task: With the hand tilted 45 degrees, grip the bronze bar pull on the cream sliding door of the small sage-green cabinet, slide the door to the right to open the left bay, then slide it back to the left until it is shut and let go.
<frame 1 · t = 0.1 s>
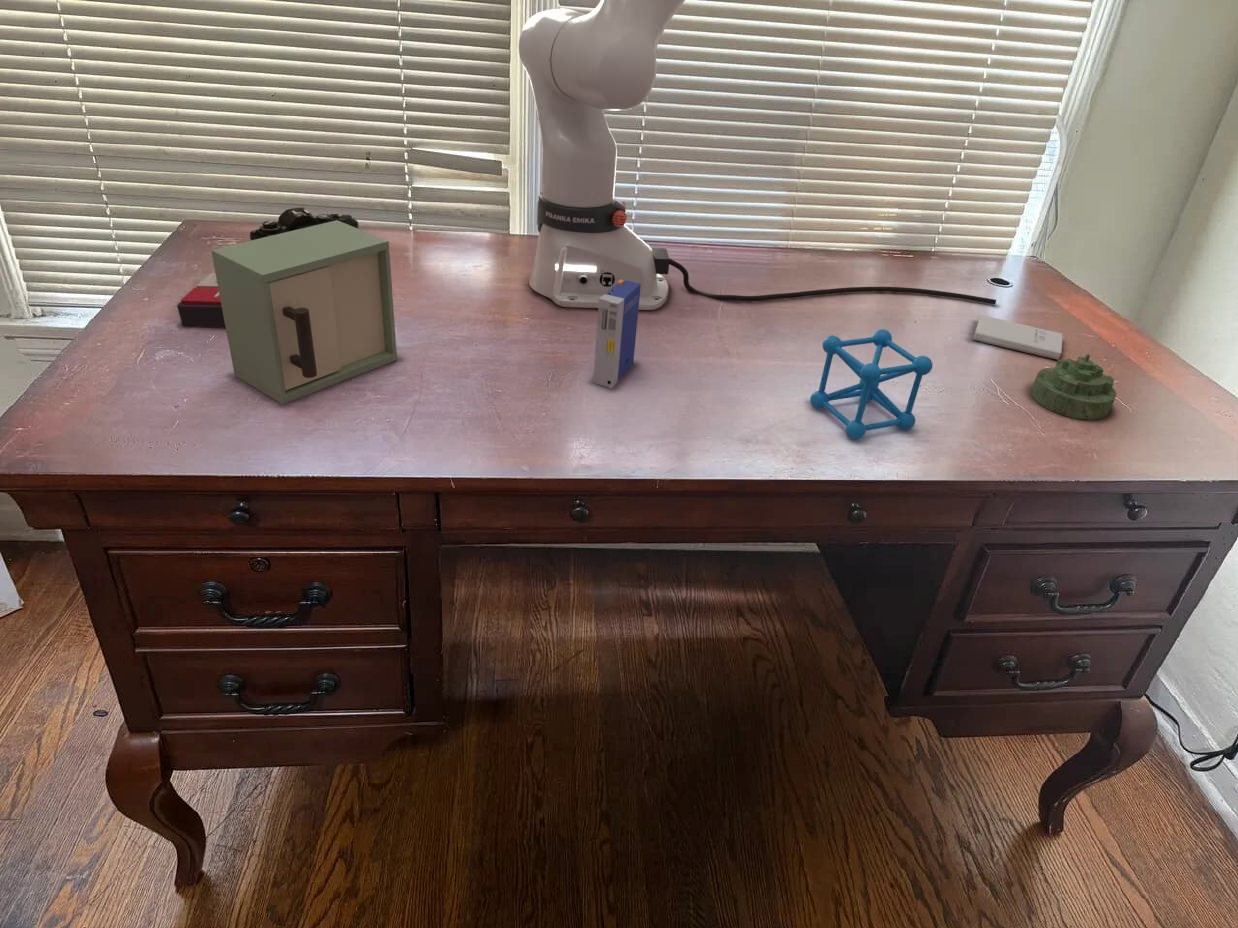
decorative artifact: (1068, 402, 118), on the table
film camera: (304, 270, 136), on the table
molecular structure: (859, 419, 110), on the table
cabinet: (318, 367, 110), on the table
door: (315, 333, 100), point 8 cm above the table, slide at 0.0 cm
hard drive: (1015, 342, 134), on the table
red and black box: (251, 315, 121), on the table
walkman: (613, 375, 115), on the table
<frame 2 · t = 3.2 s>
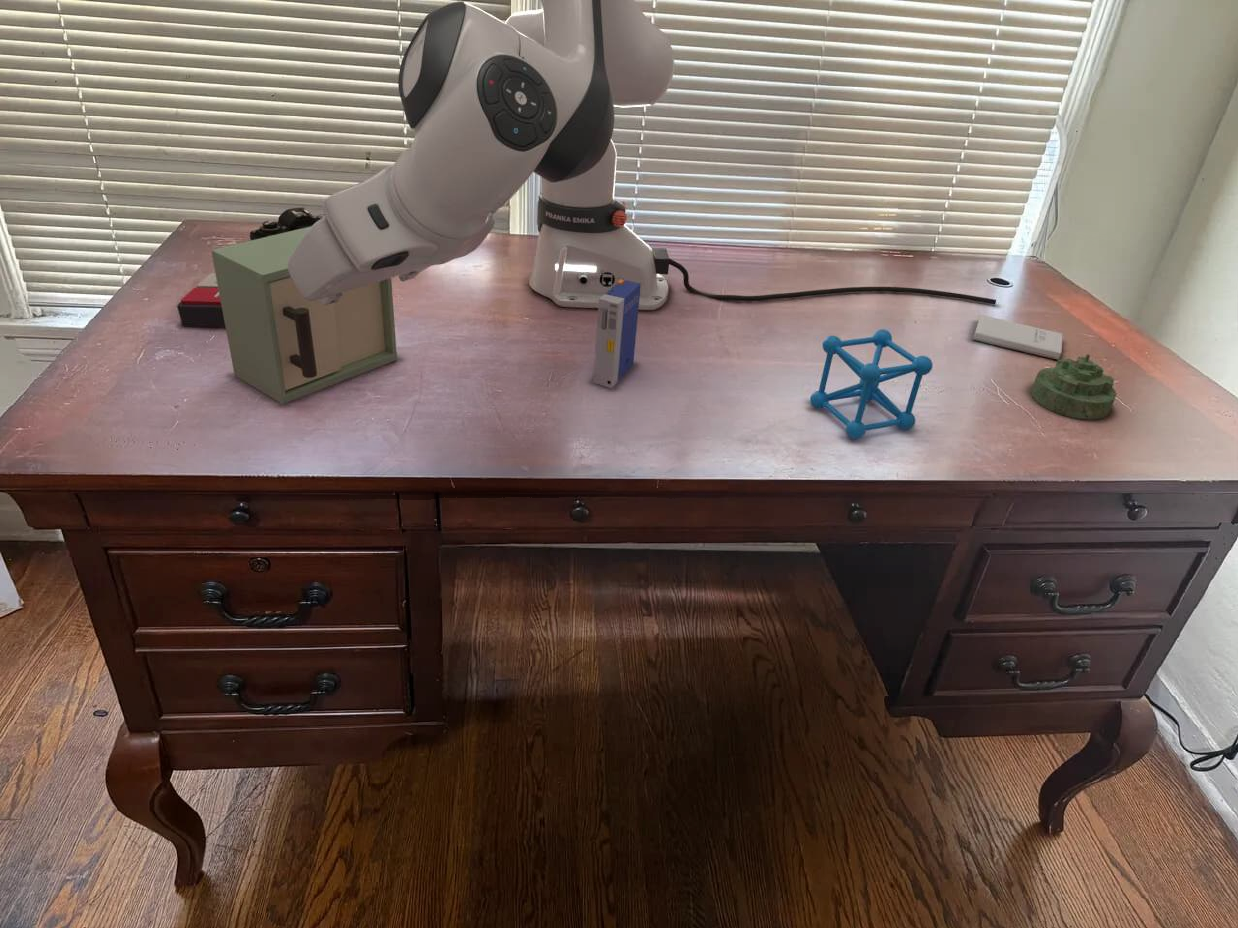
hand: (365, 285, 86), 19 cm above the table, tool tilted 45°, fingers open, 8 cm apart
nothing on the table moved.
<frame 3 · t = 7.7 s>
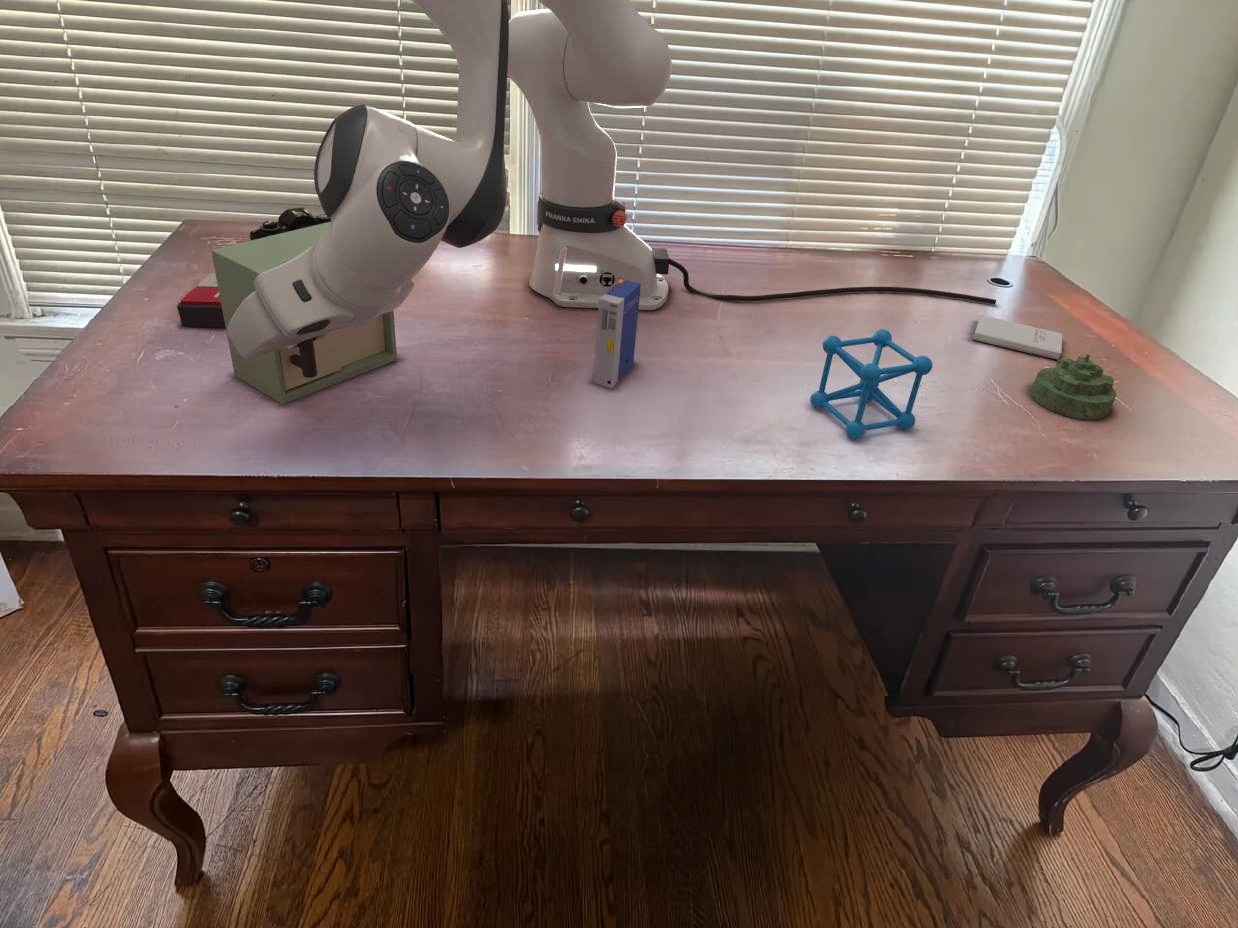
hand: (301, 338, 98), 8 cm above the table, tool tilted 45°, fingers closed on door, 2 cm apart
door: (316, 333, 100), point 8 cm above the table, slide at 0.0 cm, touching gripper
everything else where it was.
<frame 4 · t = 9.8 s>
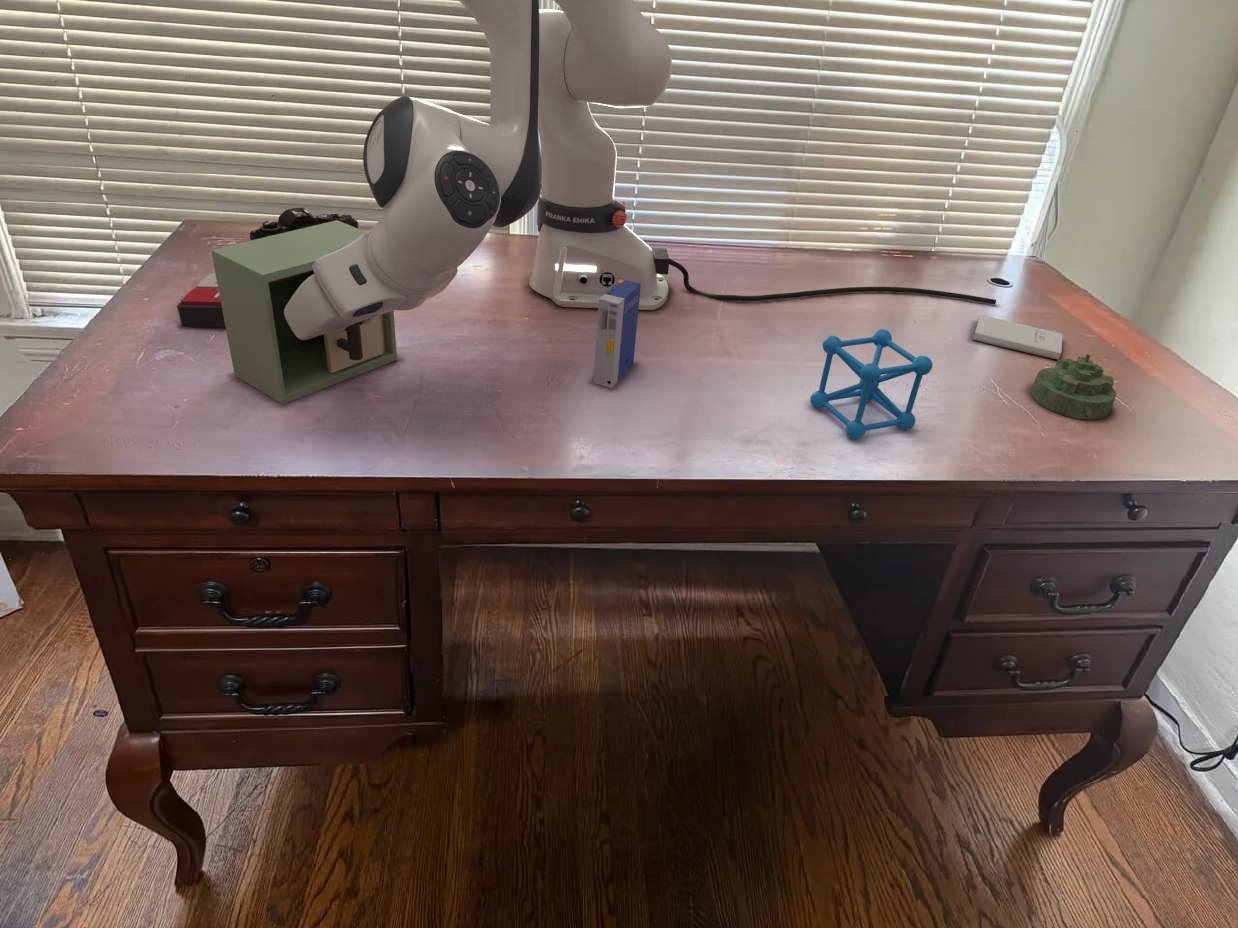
hand: (349, 322, 102), 8 cm above the table, tool tilted 45°, fingers closed on door, 2 cm apart
door: (361, 318, 104), point 8 cm above the table, slide at 6.5 cm, touching gripper
everything else where it was.
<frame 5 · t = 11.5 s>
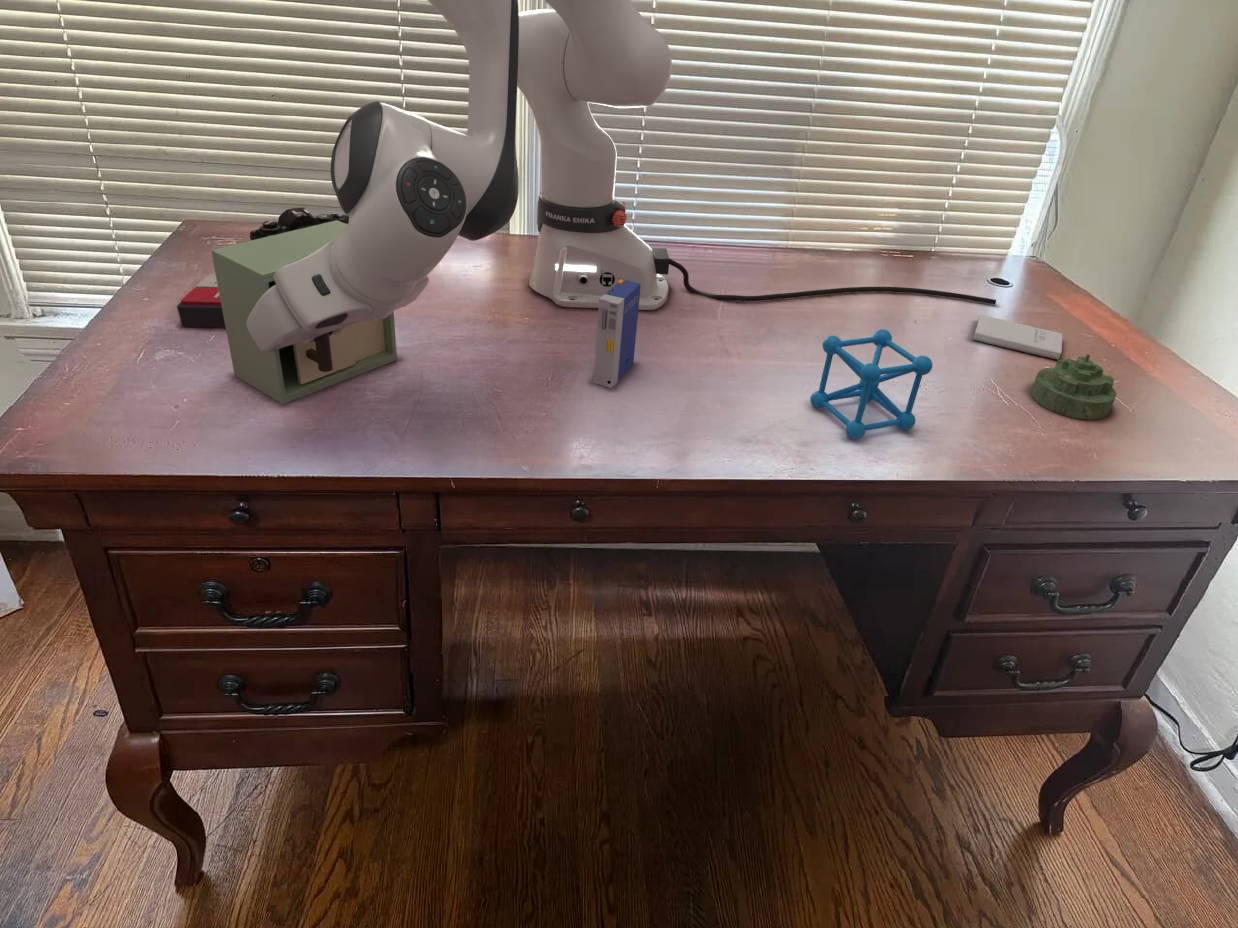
hand: (317, 333, 99), 8 cm above the table, tool tilted 45°, fingers closed on door, 2 cm apart
door: (331, 328, 101), point 8 cm above the table, slide at 2.2 cm, touching gripper
everything else where it was.
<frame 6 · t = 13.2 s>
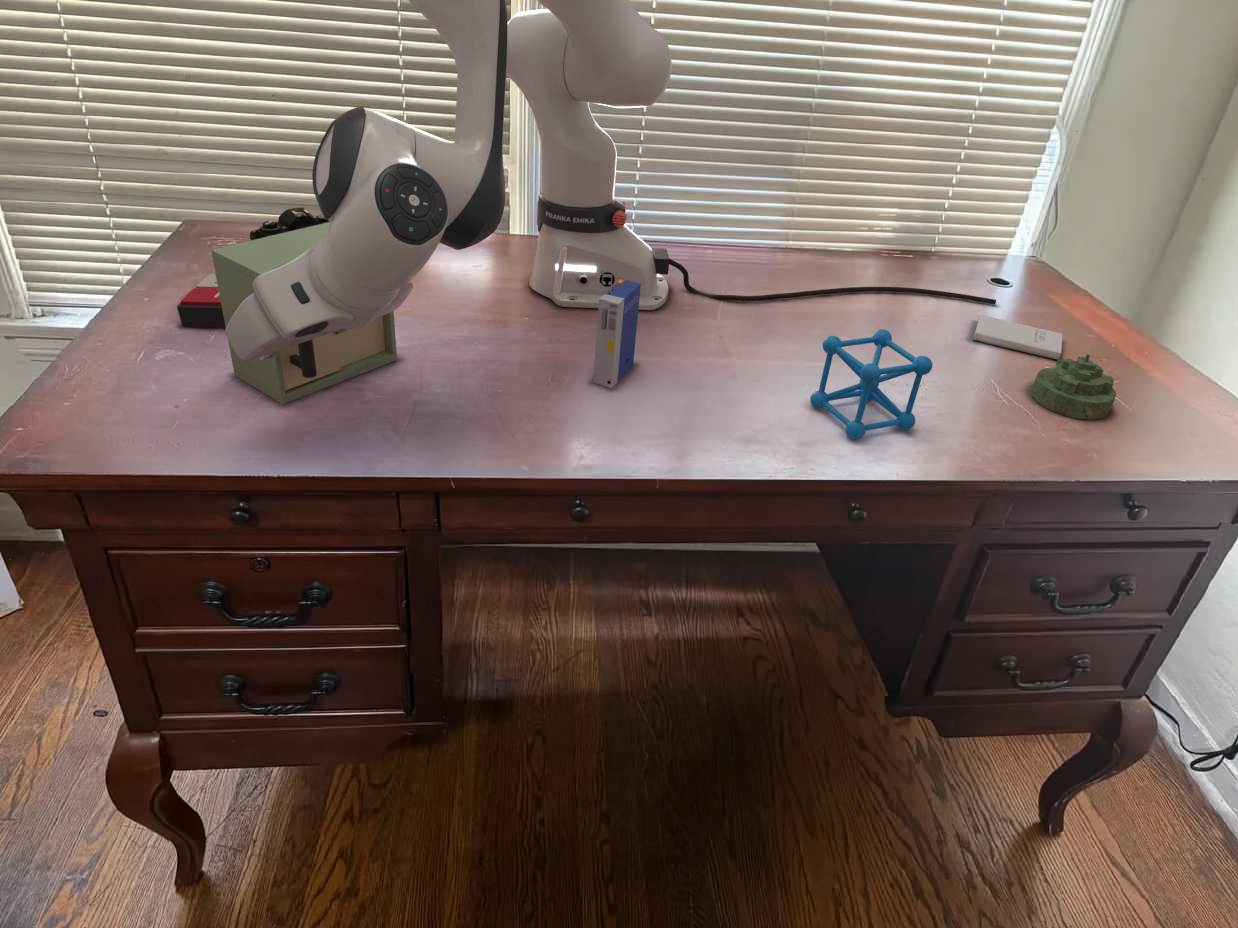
hand: (300, 340, 98), 8 cm above the table, tool tilted 45°, fingers open, 8 cm apart
door: (315, 333, 100), point 8 cm above the table, slide at 0.0 cm
everything else where it was.
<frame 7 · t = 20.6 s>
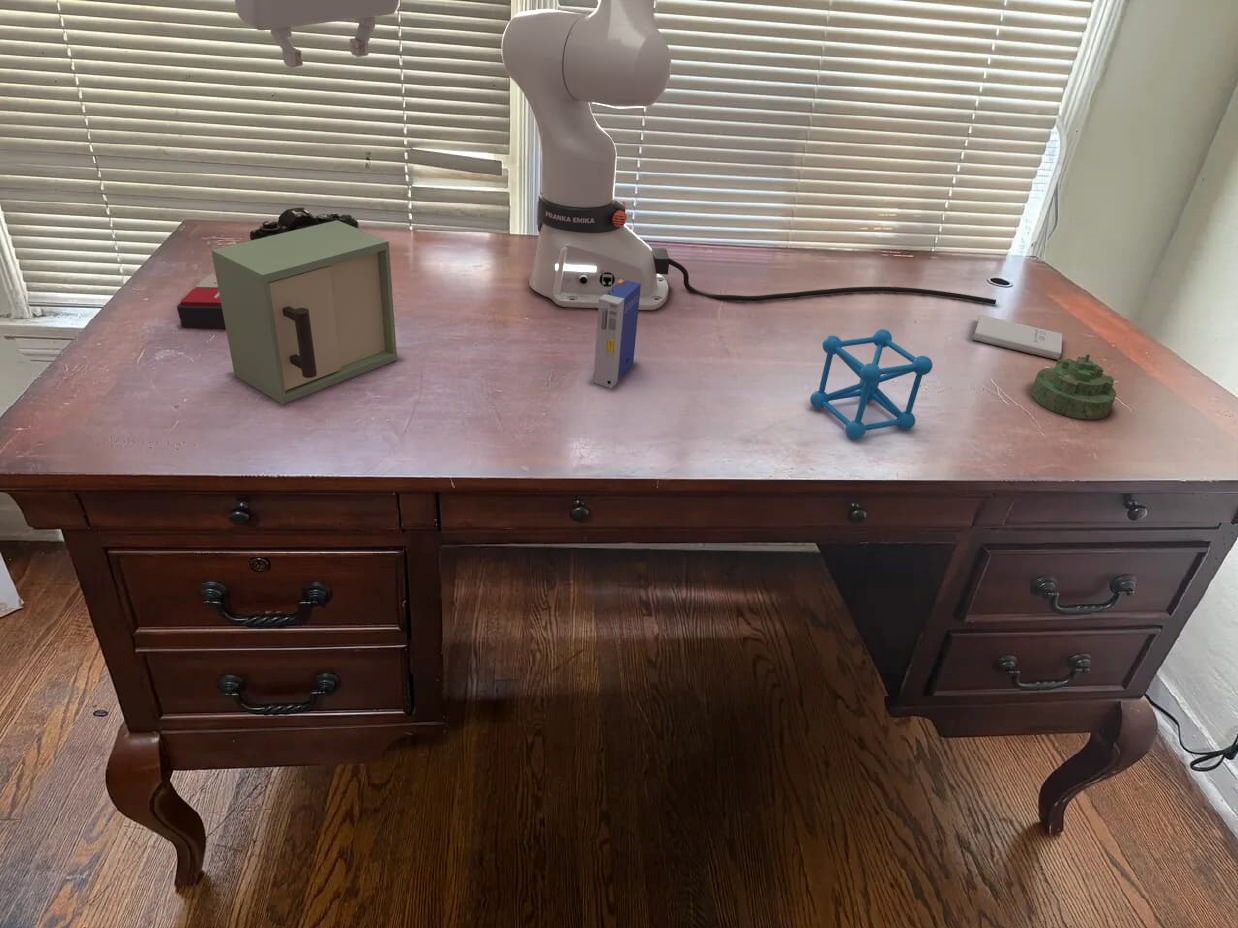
hand: (327, 60, 106), 33 cm above the table, tool pointing down, fingers open, 8 cm apart
nothing on the table moved.
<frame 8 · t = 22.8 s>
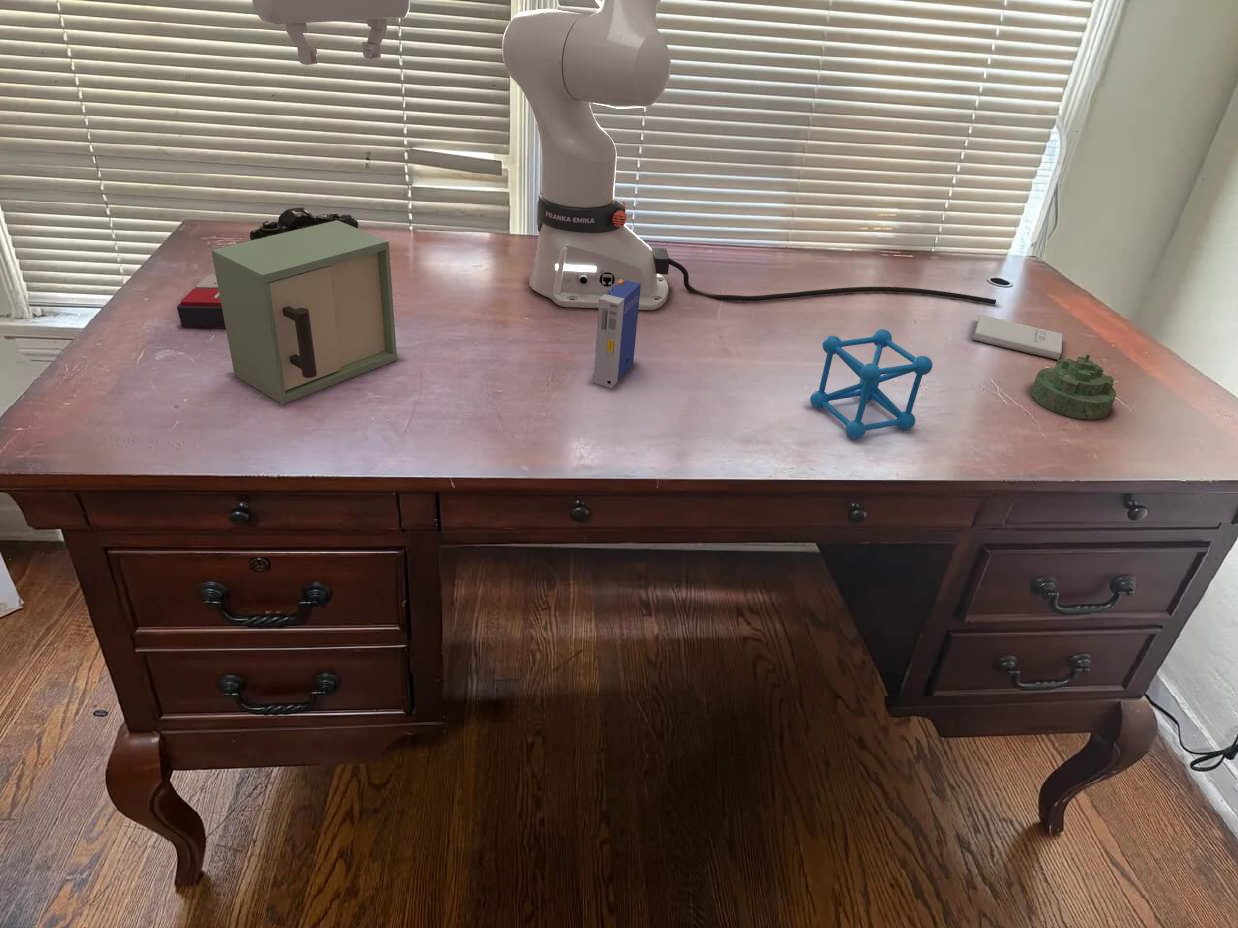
hand: (341, 61, 107), 33 cm above the table, tool pointing down, fingers open, 8 cm apart
nothing on the table moved.
at the end: door pulled out 6.5 cm at the most during the clip, back to where it started at the end; door slide at 0.0 cm; the gripper is holding nothing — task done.
